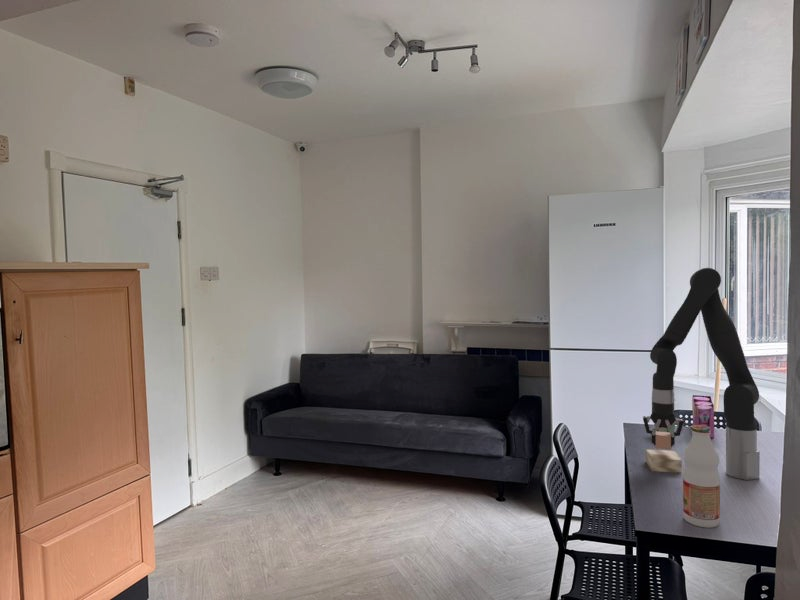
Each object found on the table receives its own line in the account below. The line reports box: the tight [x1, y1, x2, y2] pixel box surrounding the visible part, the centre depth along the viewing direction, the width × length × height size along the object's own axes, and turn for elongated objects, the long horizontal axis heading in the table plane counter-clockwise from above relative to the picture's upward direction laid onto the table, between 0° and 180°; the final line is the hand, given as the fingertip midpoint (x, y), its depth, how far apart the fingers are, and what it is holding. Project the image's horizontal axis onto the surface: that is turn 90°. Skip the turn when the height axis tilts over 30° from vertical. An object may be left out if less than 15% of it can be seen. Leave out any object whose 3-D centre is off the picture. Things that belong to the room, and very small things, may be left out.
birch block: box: [645, 449, 683, 474], centre depth 198 cm, size 10×10×5 cm
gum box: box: [691, 394, 715, 439], centre depth 240 cm, size 24×8×14 cm, turn 153°
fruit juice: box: [682, 424, 721, 529], centre depth 154 cm, size 9×9×28 cm
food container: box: [657, 421, 677, 435], centre depth 230 cm, size 12×6×10 cm, turn 179°
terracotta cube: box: [654, 431, 672, 451], centre depth 198 cm, size 5×5×5 cm
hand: (662, 445), depth 198 cm, fingers closed on terracotta cube, 5 cm apart
